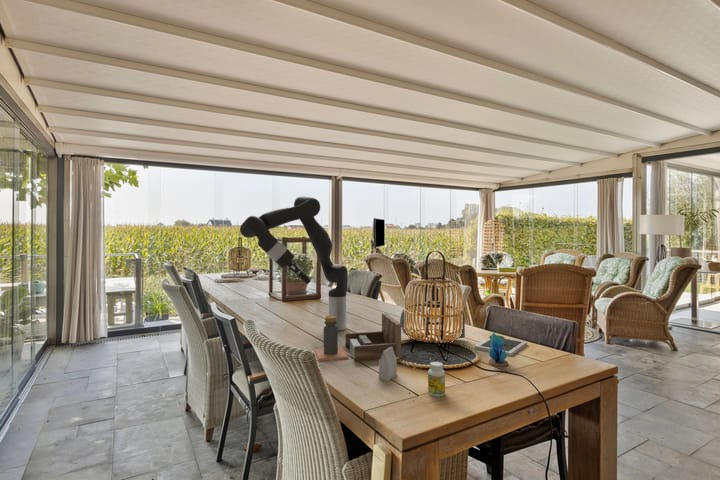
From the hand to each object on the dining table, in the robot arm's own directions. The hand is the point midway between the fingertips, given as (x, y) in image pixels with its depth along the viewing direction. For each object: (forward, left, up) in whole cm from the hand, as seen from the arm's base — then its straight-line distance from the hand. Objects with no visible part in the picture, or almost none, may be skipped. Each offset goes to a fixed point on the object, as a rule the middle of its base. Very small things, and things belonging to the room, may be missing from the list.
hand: (308, 281), depth 168 cm
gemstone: (+32, +71, -31) cm, 83 cm away
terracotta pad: (+7, +9, -30) cm, 32 cm away
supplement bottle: (+52, +36, -31) cm, 70 cm away
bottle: (+7, +9, -30) cm, 31 cm away
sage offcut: (+7, +19, -31) cm, 37 cm away
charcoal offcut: (+7, +23, -30) cm, 39 cm away
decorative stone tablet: (-5, +59, -31) cm, 66 cm away
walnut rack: (+7, +26, -30) cm, 41 cm away
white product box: (+35, +25, -31) cm, 53 cm away
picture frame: (+13, +84, -31) cm, 91 cm away
